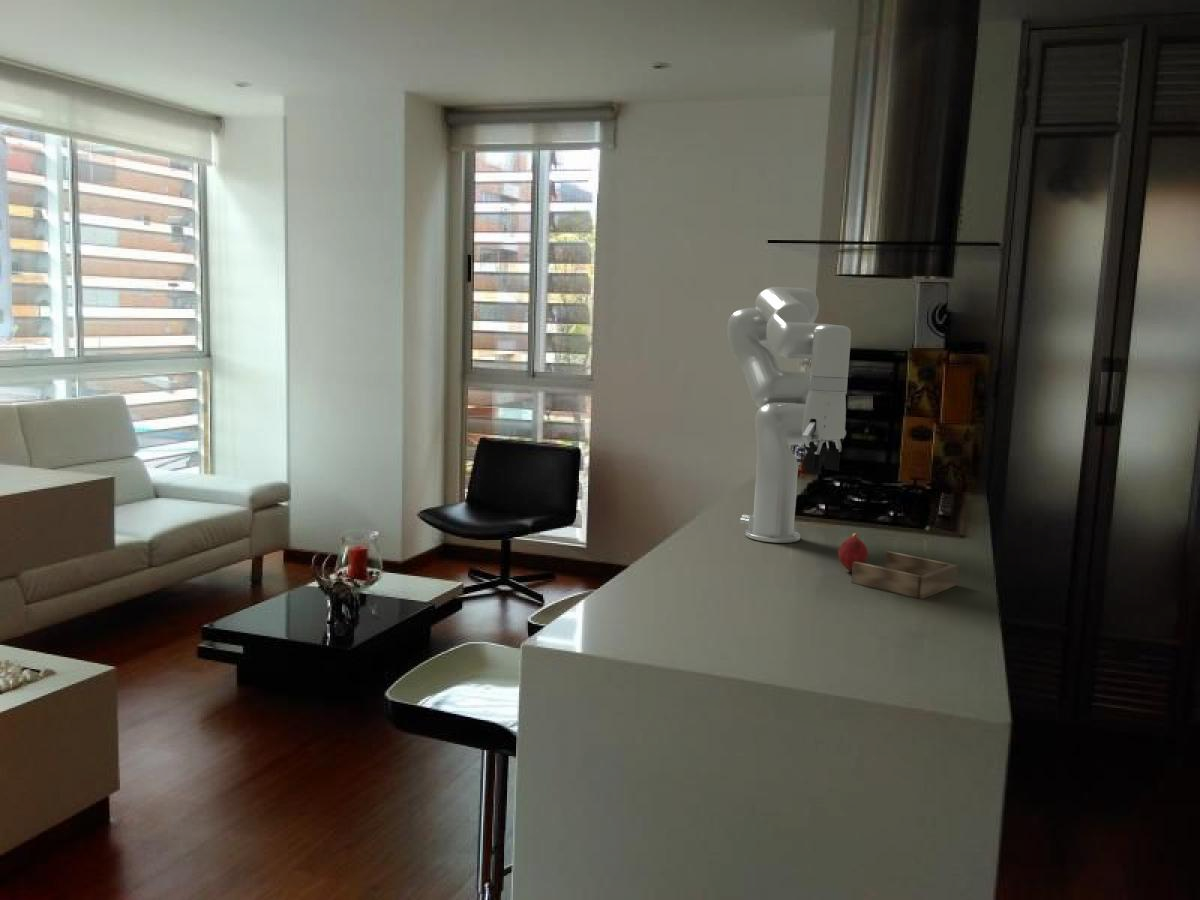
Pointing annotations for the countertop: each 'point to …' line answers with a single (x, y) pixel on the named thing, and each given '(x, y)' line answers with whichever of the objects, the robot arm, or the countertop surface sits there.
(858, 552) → the onion
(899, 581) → the wooden tray
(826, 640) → the countertop surface
